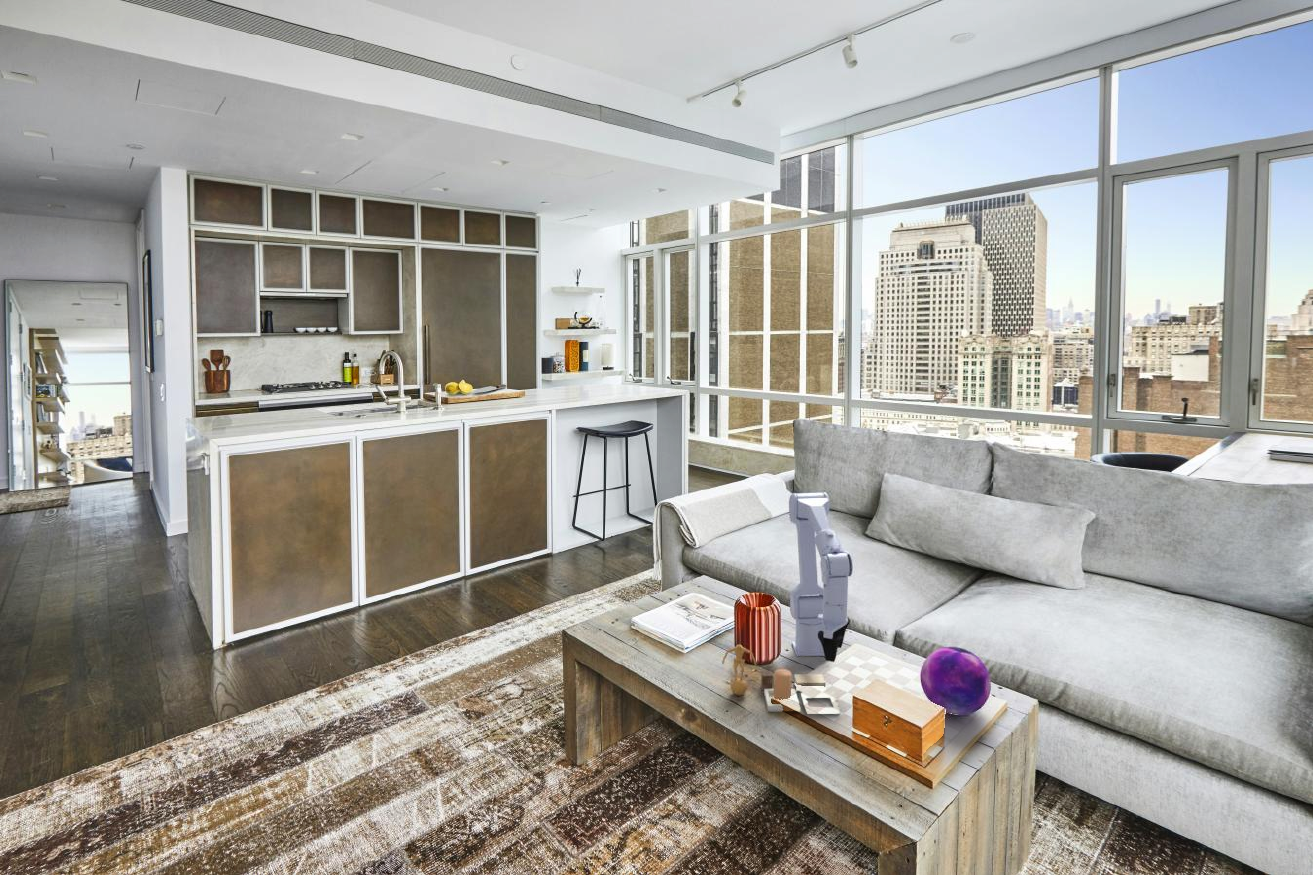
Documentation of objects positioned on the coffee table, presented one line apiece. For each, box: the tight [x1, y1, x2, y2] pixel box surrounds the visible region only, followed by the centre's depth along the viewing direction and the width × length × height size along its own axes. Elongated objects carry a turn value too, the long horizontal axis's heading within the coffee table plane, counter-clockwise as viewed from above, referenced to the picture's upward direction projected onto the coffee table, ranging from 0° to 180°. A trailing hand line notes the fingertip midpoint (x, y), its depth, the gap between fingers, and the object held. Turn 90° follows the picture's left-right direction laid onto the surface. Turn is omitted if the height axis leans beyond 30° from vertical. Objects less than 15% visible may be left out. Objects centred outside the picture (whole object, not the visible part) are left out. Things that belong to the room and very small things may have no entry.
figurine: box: [721, 644, 757, 696], centre depth 172 cm, size 8×6×12 cm
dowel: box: [773, 668, 793, 700], centre depth 168 cm, size 4×4×7 cm
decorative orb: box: [920, 646, 992, 716], centre depth 162 cm, size 15×15×15 cm
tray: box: [763, 688, 783, 713], centre depth 168 cm, size 8×8×2 cm
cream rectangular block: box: [793, 673, 827, 687], centre depth 174 cm, size 7×4×2 cm, turn 88°
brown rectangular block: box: [760, 670, 774, 692], centre depth 174 cm, size 2×2×4 cm
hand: (833, 653), depth 171 cm, fingers open, 7 cm apart
